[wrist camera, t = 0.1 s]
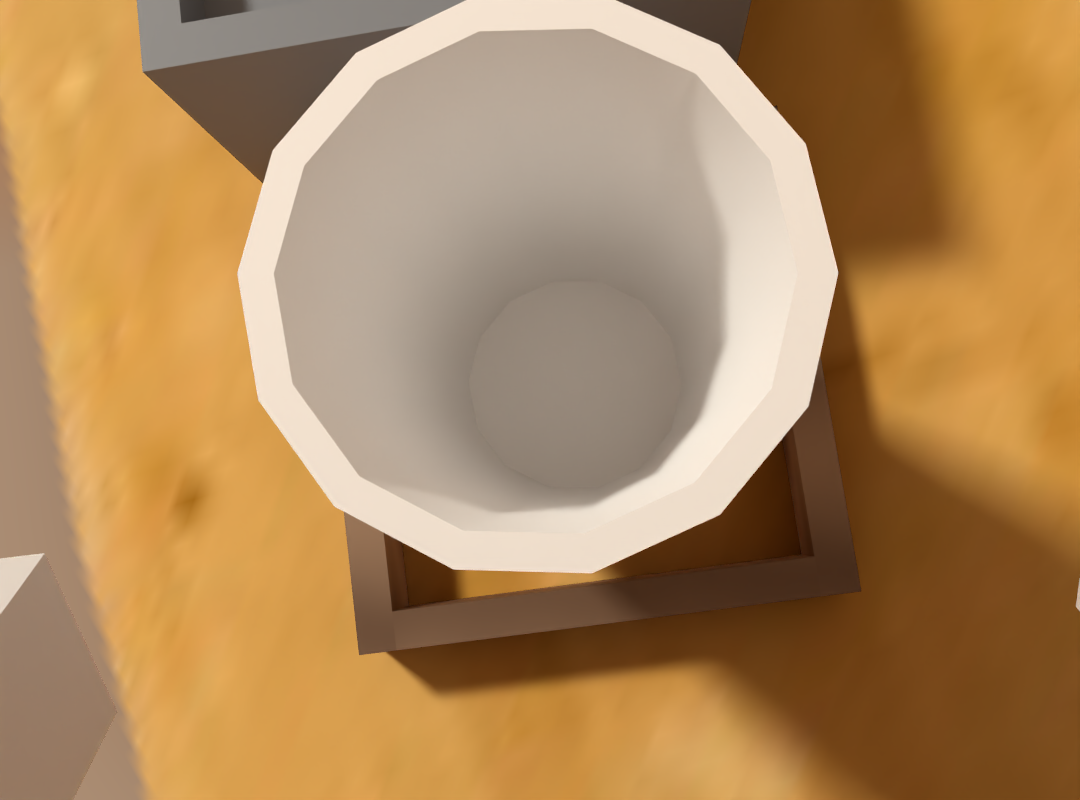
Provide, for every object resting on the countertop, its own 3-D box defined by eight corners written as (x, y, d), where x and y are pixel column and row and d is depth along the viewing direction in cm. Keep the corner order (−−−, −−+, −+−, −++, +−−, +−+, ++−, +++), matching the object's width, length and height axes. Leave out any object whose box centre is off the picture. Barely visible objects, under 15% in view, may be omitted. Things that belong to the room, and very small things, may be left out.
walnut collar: (844, 586, 27) (861, 591, 25) (378, 646, 28) (359, 654, 26) (766, 134, 29) (776, 105, 27) (330, 204, 30) (309, 181, 28)
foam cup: (389, 263, 30) (202, 63, 17) (698, 193, 29) (751, -71, 16) (449, 584, 28) (297, 633, 15) (774, 517, 28) (898, 511, 15)
